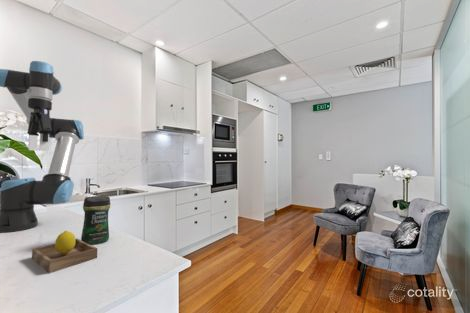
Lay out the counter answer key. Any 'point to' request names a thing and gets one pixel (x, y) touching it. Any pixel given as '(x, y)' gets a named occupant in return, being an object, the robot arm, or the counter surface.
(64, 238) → the lemon
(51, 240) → the counter surface
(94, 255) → the walnut tray
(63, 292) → the counter surface
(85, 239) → the coffee jar
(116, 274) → the counter surface
